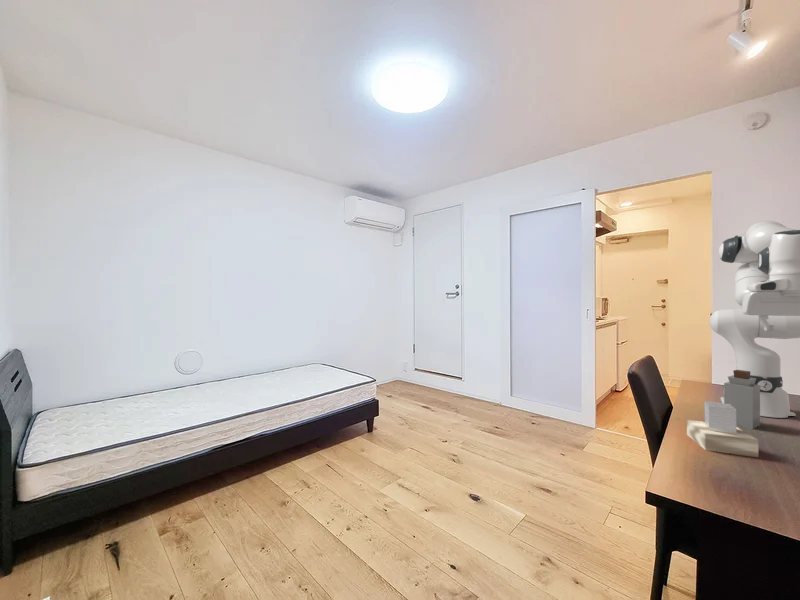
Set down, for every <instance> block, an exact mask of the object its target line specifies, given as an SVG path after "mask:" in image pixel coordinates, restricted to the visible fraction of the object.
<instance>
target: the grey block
mask: <svg viewBox="0 0 800 600" xmlns="http://www.w3.org/2000/svg"><path fill="white" fill-rule="evenodd" d="M704 422H705V425H706V427H707V428H708V429H709V430H711V431H717V432H723V433H729V434H735V435H737V433H736V427H737V425H736V409H735V408H734V407H733V406H732V405H731V404H725V403H722V402H716V401H710V400H709V401H708V400H704Z"/></svg>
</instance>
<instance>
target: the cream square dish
mask: <svg viewBox="0 0 800 600" xmlns="http://www.w3.org/2000/svg"><path fill="white" fill-rule="evenodd" d="M736 433H737V435H735V434H729V433H723V432H717V431H711V430H709V429H708V428H707V427H706V425H705V421H701V420H693V419H687V420H686V435H687V436H688V437H689V438H691V440H693V442H695V443H696V444H697V445H698V446H700V447H701V448H702V449H704V450H705V451H709V452H716V451H717V452H718V453H725V454H730V453H731V454H732V455H737V456H744V457H745V456H746V457H754V458H759V439H757V437H754V436H753V435H751V434H749V433H747V432H746V431H744V430H743V429H741V428H739V426H736ZM731 454H730V455H731Z"/></svg>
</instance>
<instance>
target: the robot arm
mask: <svg viewBox="0 0 800 600" xmlns="http://www.w3.org/2000/svg"><path fill="white" fill-rule="evenodd" d="M718 256H719V258H720V260H721V261H722V262H724V263H729V264H734V263H737V264H741V265H740V266H738V268H737V269H736V272H735V274H734V283H733V287H734V300H735V302H736V303H737V304H738V305H739V306H740V307H741V308H725V309H718V310H716V311H714V312H713V313H712V314H711V316H710V317H709V324H710V328H711V329H712V330H713V331H714V332H715V333H716V334H718V335H719V336H721V337H723V338H724V339H725V340H726V341H727V342H728V343H729V344H730V346H731V347H732V349H733V351H734V356H735V365H736V368H735V370H744V371H750V378H756V381H755V383H754V384H755V385H760V417H766V418H767V417H768V418H774V419H775V418H776V419H778V418H779V419H783V418H784V419H785V418H788V416H795V417H796V416H797V415H796V413H795V412H793V411H790V410H791V408H790V399H789V398H790V397H789V393H788V392H787V391H786V390H784V389H783V387H784V386H783V383H784V381H783V376H781V357H780V355H779V354H778V353H777V352H776V351H774V350H772V349H770V348H767V347H765V346H762V345H760V344H758V343H756V341H755V339H757V338H759V339H776V340H777V339H779V340H789V339H800V229H795V228H794V229H793V228H790V227H787V226H786V225H784V224H782V223H779V222H776V221H774V220H773V221H772V220H763V221H759V222H755V223H754V224H751V226H749V227H748V229H747V230H746V232H745V234H744V235H743V236H741V235H739V236H738V235H735V236H733V237H730V238H726V239H725V240H723V241H722V243H721V245H720V246H719V248H718ZM722 390H723V393H724V389H722ZM721 401H722V402H721ZM720 402H721V403H724V396H721V397H720Z"/></svg>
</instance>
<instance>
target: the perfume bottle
mask: <svg viewBox="0 0 800 600" xmlns="http://www.w3.org/2000/svg"><path fill="white" fill-rule="evenodd" d="M732 372H733V375H729V376H727V379H728V381H727V382H724V383H723V384H724V385H723V387H724V388H723V390H724V392H723V397H724V403H725V404H731V405H732V406H733V407H734V408H735V409H736V426H738V425H739V426H738V427H742V426H743V428H746V427H747V428H746V429H751V430H754V429H757V426H758V427H760V426H761V416H760V385H755V384H754V383H755V381H756V378H750V371H744V370H736V369H735V370H733V371H732Z"/></svg>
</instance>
